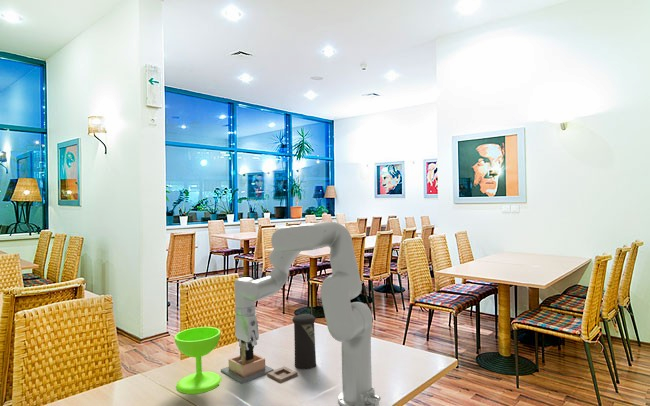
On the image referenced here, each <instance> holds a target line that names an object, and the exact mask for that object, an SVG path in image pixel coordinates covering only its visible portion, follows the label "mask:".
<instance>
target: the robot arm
mask: <svg viewBox="0 0 650 406" xmlns="http://www.w3.org/2000/svg"><path fill="white" fill-rule="evenodd" d="M270 243H271V246H272V247H273V249H272V251H271V252H270V253H269V256H268V260H269V262H270V264H271V266H273V268H272V270H271V271H270V272H269V274H268V275H267V276H264V277H261V278H260V277H259V278H257V279H254V278H252V277H249V276H248V277H246V276H245V277H238V278H236V279H235V280H234V307H235V314H234V315H235V320H234V334H235V337H236V338H235V339H237V342H238V346H239V354H240V355H239V356H240V358H241V343H242V342H246V350H245V358H246V361H248V360H251V359H253V358H254V357H253V353H254V348H255V346H257V345H258V340H260V339H259V338H260V333H259V324H258V318H257V314H256V302H257V301H261V300H264V299H266V298H270V297H273V296H274V295H276V294H277V293H278V292H280V290H281V289H282V288H283V286H284V285H285V284H286V283H287V281H288V278H289V275H290V268H291V266H292V265H293V263H294V261H295V260H296V259H297V258H298V256H299V255H300V253H301V252H305V251H306V252H307V251H314V250H318V249H324V248H327V247H328V248H330V252H329V263H330V267H331V274H329V275H328V276H326V277H325V279H323V282H322V284H321V287H320V298H321V303H322V308H323V313H324V317H325V318H324V319H325V322H326V326H327V327H326V328H327V330H328V332H329V335H330V336H332V338H333V340H335V341H337V342H340V343H341V377H342V378H341V379H342V382H341V383H342V384H341V385H342V391H341V392H340V393H338V396H337V402H338V403H339V405H340V406H379V404H380V401H381V396H379V395H377V394H376V393H375V392H376V390H375V388H374V387H373V382H372V380H373V378H372V332H373V330H372V329H373V313H372V310H371V309H370V307H369V305H368V304H366V303H364V302H361V301H353V302H351V300H353V299H355V298H357V297H358V296H359V295H360V294H361V292H362V290H363V285H362V279H361V276H360V271H359V267H358V261H357V258H356V253H355V248H354V243H353V238H352V235H351V232H350V231H349V230H348V229H347V227H345V226H344V225H343V224H341V223H339V222H336V221H329V220H328V221H318V222H312V223H305V224H298V225H297V224H296V225H287V226H281V227H279V228H276V229H275V230H274V232H273V233H272V235H271V240H270ZM249 343H251V344H249Z"/></svg>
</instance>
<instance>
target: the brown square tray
mask: <svg viewBox="0 0 650 406" xmlns="http://www.w3.org/2000/svg"><path fill="white" fill-rule="evenodd" d="M266 375H267V377H269V378H270V379H272V380H275V381H277V382H278V383H283V382H285V381H287V380H289V379H293V378H295V377H297V376H298V372H297V371H295V370H293V369H291V368H289V367H286V366H285V365H284V366H282V367H279V368H277V369H274V371H271V372H269V373H267V374H266Z"/></svg>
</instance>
